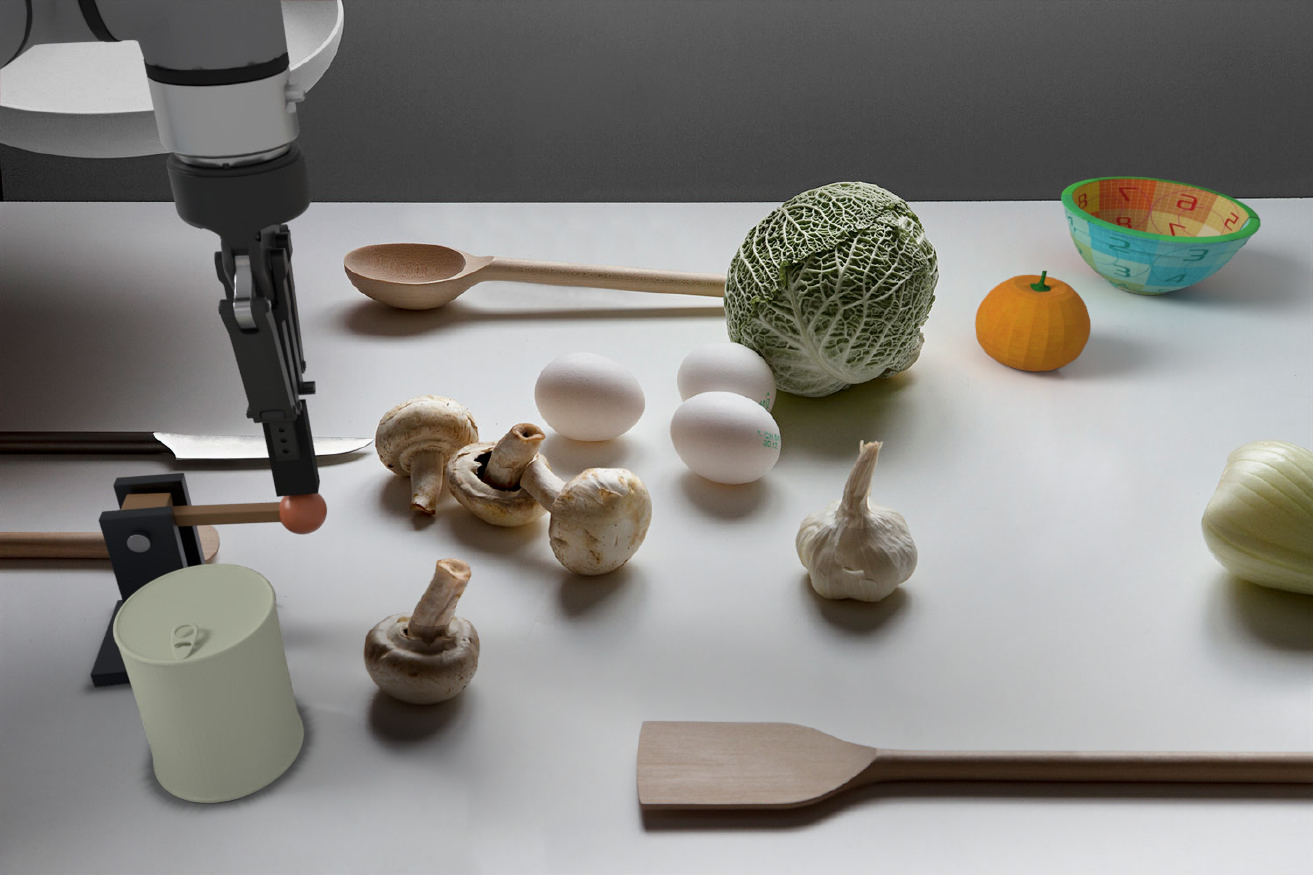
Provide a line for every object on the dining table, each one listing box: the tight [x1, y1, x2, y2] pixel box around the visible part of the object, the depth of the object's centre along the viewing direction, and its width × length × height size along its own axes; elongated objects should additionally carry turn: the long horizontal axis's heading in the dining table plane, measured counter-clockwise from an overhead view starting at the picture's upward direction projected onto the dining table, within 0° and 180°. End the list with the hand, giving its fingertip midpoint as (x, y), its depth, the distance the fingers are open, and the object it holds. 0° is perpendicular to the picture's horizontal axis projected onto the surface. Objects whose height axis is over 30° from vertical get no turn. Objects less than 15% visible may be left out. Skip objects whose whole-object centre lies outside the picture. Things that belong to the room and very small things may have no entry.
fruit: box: [974, 270, 1092, 372], centre depth 120 cm, size 12×12×10 cm
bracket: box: [90, 472, 207, 688], centre depth 78 cm, size 10×8×13 cm
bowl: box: [1060, 176, 1261, 296], centre depth 137 cm, size 22×22×10 cm
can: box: [113, 563, 305, 804], centre depth 70 cm, size 9×9×12 cm
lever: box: [121, 492, 328, 535], centre depth 77 cm, size 13×3×3 cm, turn 99°
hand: (298, 488), depth 77 cm, fingers closed
